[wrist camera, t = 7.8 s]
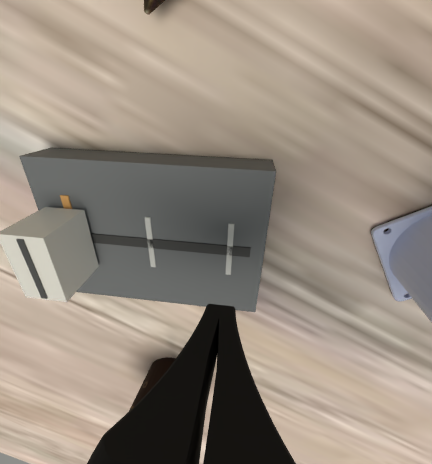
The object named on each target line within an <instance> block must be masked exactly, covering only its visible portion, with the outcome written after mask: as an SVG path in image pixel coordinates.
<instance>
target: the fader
mask: <svg viewBox="0 0 432 464" xmlns="http://www.w3.org/2000/svg"><path fill="white" fill-rule="evenodd" d="M0 244H1V246H2V248H3V250H4V252H5V254H6V256H7V259H8V261H9V263H10V265H11V267H12V269H13V271H14V273H15V275H16V277H17V280H18V282H19V284H20V286H21V288H22V290H23V292H24V294H25V296H26V297H28V298H37V299H45V300H54V301H62V302H67V301H68V300H69V299H70V298H71V297H72V296H73V295H74V293H75V292H76V291H77V290H78V289H79V288H80V287H81V286H82V284H83V283H84V282H85V281H86V280H87V279H88V278H89V277H90V275H91V274H92V273H93V272H94V271H95V270H96V269H97V268H98V266H99V265H98V261H97V258H96V254H95V250H94V246H93V242H92V238H91V234H90V230H89V226H88V223H87V219H86V215H85V211H84V210H78V209H65V208H52V207H44V208H43V209H41V210H39V211H37V212H35V213H33V214H31V215H30V216H28V217H26V218H24V219H22V220H20V221H19V222H17V223H15V224H13V225H11V226H9V227H7V228H6V229H4V230H2V231H0Z"/></svg>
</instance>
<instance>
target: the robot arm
mask: <svg viewBox="0 0 432 464" xmlns="http://www.w3.org/2000/svg"><path fill="white" fill-rule="evenodd" d="M387 228H389V229H388V231H386V232H384V230H385V229H387ZM371 235H372V238H373V241H374V244H375V247H376V250H377V253H378V255H379V258H380V261H381V264H382V267H383V270H384V273H385V276H386V278H387V281H388V284H389V287H390V290H391V293H392V296H393V297H394V299H395V300H396V301H404V300H408V299H412V298H413V300H414V301H415V302H416V303H417V305H418V306H419V307H420V308H421V310H422V311H423V312H424V313H425V315H426V316H427V317H428V318H429V320H430V321H431V322H432V206H431V207H428V208H425V209H423V210H420V211H417V212H414V213H412V214H409V215H406V216H404V217H401V218H398V219H395V220H393V221H390V222H387V223H385V224H382V225H379V226H377V227H375V228H373V229H372V231H371ZM407 293H408V294H407ZM405 294H406V295H405ZM216 357H217V372H216V379H215V387H214V394H213V401H212V408H211V415H210V422H209V429H208V436H207V443H206V450H205V456H204V463H203V464H296V463H295V462H294V460H293V458H292V456H291V455H290V453H289V451H288V450H287V448H286V446H285V444H284V442H283V441H282V439H281V437H280V435H279V433H278V431H277V429H276V427H275V426H274V424H273V422H272V420H271V418H270V416H269V413H268V411H267V409H266V407H265V405H264V403H263V401H262V399H261V397H260V394H259V392H258V390H257V387H256V385H255V382H254V380H253V377H252V375H251V372H250V369H249V367H248V364H247V361H246V358H245V355H244V351H243V348H242V344H241V341H240V337H239V333H238V328H237V322H236V314H235V307H234V306H226V305H217V304H208V305H207V307H206V309H205V312H204V314H203V316H202V318H201V320H200V322H199V324H198V326H197V327H196V329H195V331H194V332H193V334H192V336H191V337H190V339H189V341H188V342H187V344H186V345H185V347H184V348H183V350H182V351H181V352H180V354H179V355H178V357H177V358H176V359H175V361H174V362H173V363H172V365H171V366H170V367H169V368H168V370H167V371H166V372H165V373H164V375H163V376H162V377H161V378H160V379H159V380H158V382H157V383H156V384H155V385H154V386H153V387H152V388H151V390H150V391H149V392H148V393H147V394H146V395H145V396H144V397H143V398H142V399H141V400H140V401H139V402H138V403H137V404H136V405H135V406H134V407H133V408H132V409H131V410H130V411H129V412H128V413H127V414H126V415H125V416H124V417H123V418H122V419H121V420H119V421H118V422H117V423H116V424H115V425H114V426H113V427H112V428H111V429H110V430H108V431H107V432H106V433H105V434H104V435H103V437H102V438H101V440H100V442H99V443H98V445H97V447H96V448H95V450H94V452H93V454H92V455H91V457H90V459H89V461H88V463H87V464H199V459H200V451H201V443H202V435H203V427H204V420H205V412H206V406H207V400H208V395H209V391H210V386H211V381H212V376H213V372H214V367H215V362H216Z"/></svg>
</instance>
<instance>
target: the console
mask: <svg viewBox="0 0 432 464" xmlns="http://www.w3.org/2000/svg"><path fill="white" fill-rule="evenodd" d="M19 157H20V160H21V162H22V165H23V168H24V171H25V174H26V176H27V179H28V182H29V185H30V188H31V190H32V193H33V196H34V199H35V202H36V204H37V207H38V210H41V209H43V208H44V207H52V208H65V209H78V210H84V211H85V215H86V219H87V223H88V226H89V230H90V234H91V238H92V242H93V246H94V250H95V254H96V258H97V261H98V265H99V266H98V268H97V269H96V270H95V271H94V272H93V273H92V274H91V275H90V277H89V278H88V279H87V280H86V281H85V282H84V283H83V284H82V286H81V287H80V288H79V289H78V290H77V291H76V292H82V293H90V294H99V295H108V296H117V297H126V298H135V299H144V300H152V301H161V302H170V303H179V304H188V305H197V306H205V307H207V305H208V304H217V305H226V306H234V307H235V310H241V311H250V312H255V311H256V304H257V297H258V290H259V284H260V277H261V270H262V264H263V257H264V250H265V243H266V237H267V230H268V223H269V217H270V210H271V203H272V196H273V190H274V183H275V176H276V169H275V166H274V163H273V160H261V159H243V158H225V157H207V156H189V155H171V154H153V153H135V152H117V151H99V150H81V149H63V148H48V149H44V150H41V151H37V152H33V153H29V154H25V155H21V156H19Z"/></svg>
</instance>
